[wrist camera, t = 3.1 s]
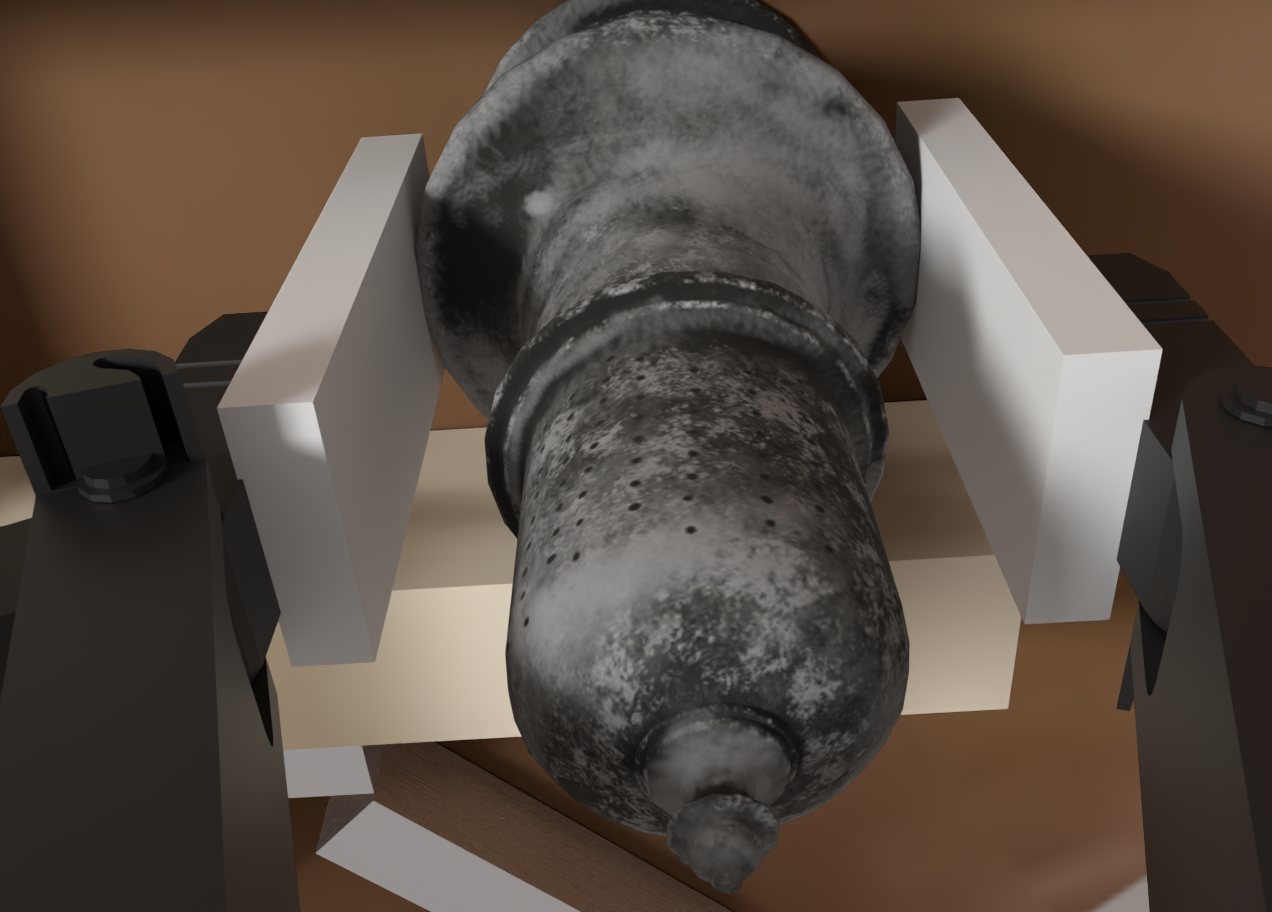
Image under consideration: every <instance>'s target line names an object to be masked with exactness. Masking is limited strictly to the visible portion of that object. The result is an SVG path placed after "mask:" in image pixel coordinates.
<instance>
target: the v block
mask: <svg viewBox="0 0 1272 912" xmlns="http://www.w3.org/2000/svg"><path fill="white" fill-rule="evenodd" d="M283 753H284V762H285V772H286V781H287V791H288V798H300V797H318V796H330V797H329V801H328V805H327V809H326V813H325V817H324V821H323V825H322V829H321V833H320V837H319V841H318V845H317V849H316V854H318V855H320V856H322V857H324V858H326V859H328V860H330V861H332V862H334V863H336V864H338V865H340V866H342V867H344V868H345V869H347V870H349V871H351V872H353V873H355V874H357V875H359V876H361V877H363V878H365V879H367V880H369V881H371V882H373V883H375V884H377V885H379V886H381V887H383V888H385V889H387V890H389V891H391V892H393V893H395V894H397V895H399V896H401V897H403V898H405V899H407V900H409V901H411V902H413V903H415V904H417V905H419V906H421V907H423V908H425V909H427V910H429V911H431V912H732V911H730V910H728V909H727V908H725V907H723V906H721V905H720V904H718V903H716V902H714V901H713V900H711V899H709V898H707V897H706V896H704V895H702V894H700V893H699V892H697V891H695V890H693V889H692V888H690V887H688V886H686V885H684V884H683V883H681V882H679V881H677V880H676V879H674V878H672V877H670V876H669V875H667V874H665V873H663V872H662V871H660V870H658V869H656V868H655V867H653V866H651V865H649V864H648V863H646V862H644V861H642V860H641V859H639V858H637V857H635V856H634V855H632V854H630V853H628V852H627V851H625V850H623V849H621V848H620V847H618V846H616V845H614V844H613V843H611V842H609V841H607V840H606V839H604V838H602V837H600V836H599V835H597V834H595V833H593V832H592V831H590V830H588V829H586V828H584V827H583V826H581V825H579V824H577V823H576V822H574V821H572V820H570V819H569V818H567V817H565V816H563V815H562V814H560V813H558V812H556V811H555V810H553V809H551V808H549V807H548V806H546V805H544V804H542V803H541V802H539V801H537V800H535V799H534V798H532V797H530V796H528V795H527V794H525V793H523V792H521V791H520V790H518V789H516V788H514V787H513V786H511V785H509V784H507V783H506V782H504V781H502V780H500V779H499V778H497V777H495V776H493V775H492V774H490V773H488V772H486V771H485V770H483V769H481V768H479V767H477V766H476V765H474V764H472V763H470V762H469V761H467V760H465V759H463V758H462V757H460V756H458V755H456V754H455V753H453V752H451V751H449V750H448V749H446V748H444V747H442V746H441V745H439V744H437V743H435V742H434V741H433V742H416V743H398V744H381V745H363V746H345V747H328V748H310V749H293V750H283Z"/></svg>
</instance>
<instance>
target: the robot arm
mask: <svg viewBox="0 0 1272 912" xmlns="http://www.w3.org/2000/svg"><path fill="white" fill-rule="evenodd" d="M895 144H896V146H897V148H898V150H899V152H900V154H901V156H902V158H903V160H904V162H905V164H906V166H907V169H908V171H909V173H910V175H911V177H912V179H913V181H914V187H915V194H916V200H917V206H918V213H919V219H920V225H921V250H920V262H919V273H918V285H917V295H916V303H915V306H914V308H913V311H912V313H911V315H910V318H909V320H908V322H907V325H906V327H905V330H904V332H903V334H902V337H901V340H902V342H903V344H904V347H905V349H906V351H907V354H908V356H909V358H910V361H911V363H912V365H913V368H914V370H915V372H916V374H917V377H918V379H919V381H920V384H921V386H922V388H923V391H924V393H925V395H926V398H927V400H928V402H929V405H930V407H931V409H932V412H933V414H934V416H935V418H936V421H937V423H938V425H939V428H940V430H941V432H942V435H943V437H944V439H945V442H946V444H947V446H948V449H949V451H950V453H951V456H952V458H953V460H954V462H955V465H956V467H957V469H958V472H959V474H960V476H961V479H962V481H963V483H964V486H965V488H966V490H967V493H968V495H969V497H970V499H971V502H972V504H973V506H974V509H975V511H976V513H977V516H978V518H979V520H980V523H981V525H982V527H983V530H984V532H985V534H986V537H987V539H988V541H989V543H990V546H991V548H992V550H993V553H994V555H995V557H996V560H997V562H998V564H999V567H1000V569H1001V571H1002V574H1003V576H1004V578H1005V581H1006V583H1007V585H1008V587H1009V590H1010V592H1011V594H1012V597H1013V599H1014V601H1015V604H1016V606H1017V608H1018V611H1019V613H1020V615H1021V618H1022V620H1023V622H1024V624H1041V623H1059V622H1076V621H1093V620H1110V615H1111V610H1112V605H1113V600H1114V595H1115V590H1116V585H1117V580H1118V575H1119V569H1120V567H1121V569H1122V571H1123V572H1124V574H1125V576H1126V578H1127V580H1128V581H1129V583H1130V585H1131V587H1132V588H1133V590H1134V592H1135V594H1136V595H1137V597H1138V599H1139V605H1138V609H1137V614H1136V619H1135V624H1134V628H1133V633H1132V638H1131V643H1130V647H1129V652H1128V657H1127V661H1126V666H1125V671H1124V676H1123V680H1122V685H1121V690H1120V695H1119V699H1118V704H1117V709H1120V710H1127V711H1130V709H1131V706H1132V703H1133V699H1134V704H1135V718H1136V732H1137V745H1138V759H1139V773H1140V786H1141V800H1142V813H1143V827H1144V841H1145V854H1146V868H1147V882H1148V895H1149V908H1150V912H1272V368H1269V367H1262V366H1255V365H1254V364H1253V363H1252V362H1251V361H1250V360H1249V359H1248V358H1247V357H1246V356H1245V355H1244V354H1243V352H1242V351H1241V350H1240V349H1239V348H1238V347H1237V346H1236V345H1235V344H1234V343H1233V342H1232V341H1231V339H1230V338H1229V337H1228V336H1227V335H1226V334H1225V333H1224V332H1223V331H1222V330H1221V329H1220V328H1219V326H1218V325H1217V324H1216V323H1215V322H1214V321H1213V320H1211V321H1208V315H1207V313H1206V312H1205V311H1204V310H1203V309H1202V308H1201V307H1200V306H1199V305H1198V304H1197V303H1196V302H1195V301H1190V295H1189V294H1188V293H1187V292H1186V291H1185V290H1184V289H1183V288H1182V286H1181V285H1180V284H1179V283H1178V282H1177V281H1176V280H1175V279H1174V278H1173V277H1172V276H1171V275H1170V273H1169V272H1167V271H1165V270H1163V269H1161V268H1159V267H1157V266H1155V265H1153V264H1151V263H1149V262H1147V261H1145V260H1143V259H1141V258H1139V257H1136V256H1134V255H1132V254H1130V253H1121V254H1106V255H1090V256H1087V255H1086V254H1085V253H1084V252H1083V250H1082V249H1081V248H1080V247H1079V245H1078V244H1077V243H1076V242H1075V240H1074V239H1073V238H1072V237H1071V236H1070V234H1069V233H1068V232H1067V231H1066V229H1065V228H1064V227H1063V226H1062V224H1061V223H1060V222H1059V221H1058V219H1057V218H1056V217H1055V216H1054V215H1053V213H1052V212H1051V211H1050V210H1049V208H1048V207H1047V206H1046V205H1045V203H1044V202H1043V201H1042V200H1041V199H1040V197H1039V196H1038V195H1037V194H1036V192H1035V191H1034V190H1033V189H1032V187H1031V186H1030V185H1029V184H1028V182H1027V181H1026V180H1025V179H1024V178H1023V176H1022V175H1021V174H1020V173H1019V171H1018V170H1017V169H1016V168H1015V166H1014V165H1013V164H1012V163H1011V162H1010V160H1009V159H1008V158H1007V157H1006V155H1005V154H1004V153H1003V152H1002V150H1001V149H1000V148H999V147H998V145H997V144H996V143H995V142H994V141H993V139H992V138H991V137H990V136H989V134H988V133H987V132H986V131H985V129H984V128H983V127H982V126H981V125H980V123H979V122H978V121H977V120H976V118H975V117H974V116H973V115H972V113H971V112H970V111H969V110H968V108H967V107H966V106H965V105H964V104H963V102H962V101H961V100H960V99H959V98H949V99H934V100H919V101H904V102H897V109H896V127H895ZM428 180H429V172H428V166H427V160H426V153H425V147H424V141H423V135H422V134H407V135H392V136H377V137H362V138H361V139H360V141H359V143H358V145H357V147H356V149H355V150H354V152H353V154H352V156H351V158H350V160H349V162H348V164H347V165H346V167H345V169H344V171H343V173H342V175H341V177H340V179H339V180H338V182H337V184H336V186H335V188H334V190H333V192H332V194H331V195H330V197H329V199H328V201H327V203H326V205H325V207H324V208H323V210H322V212H321V214H320V216H319V218H318V220H317V222H316V223H315V225H314V227H313V229H312V231H311V233H310V235H309V237H308V238H307V240H306V242H305V244H304V246H303V248H302V250H301V252H300V253H299V255H298V257H297V259H296V261H295V263H294V265H293V267H292V268H291V270H290V272H289V274H288V276H287V278H286V280H285V281H284V283H283V285H282V287H281V289H280V291H279V293H278V295H277V296H276V298H275V300H274V302H273V304H272V306H271V308H270V310H269V311H268V312H254V313H238V314H223V315H222V316H221V317H219V318H218V319H216V320H215V321H214V322H212V323H211V324H209V325H208V326H207V327H205V328H204V329H202V330H201V331H199V332H198V333H197V334H195V335H194V336H192V337H191V338H190V339H189V341H188V342H187V344H186V345H185V347H184V348H183V350H182V352H181V353H180V355H179V356H178V358H177V360H176V361H175V362H174V360H173V359H171V358H169V357H167V356H164V355H162V354H160V353H158V352H155V351H147V350H135V349H121V350H112V351H103V352H95V353H91V354H87V355H83V356H80V357H76V358H72V359H69V360H65V361H62V362H59V363H57V364H55V365H53V366H50V367H48V368H46V369H44V370H41V371H39V372H37V373H35V374H32V375H31V376H30V377H28V378H27V379H26V380H24V381H23V382H21V383H20V384H19V385H17V386H16V387H15V388H13V389H12V390H11V391H10V392H9V394H8V395H7V397H6V398H5V400H4V401H3V403H2V405H1V406H0V408H1V411H2V413H3V416H4V418H5V421H6V423H7V426H8V428H9V431H10V433H11V436H12V438H13V441H14V443H15V446H16V448H17V451H18V453H19V456H20V458H21V460H22V463H23V465H24V468H25V470H26V473H27V475H28V478H29V480H30V483H31V485H32V488H33V490H34V493H35V495H36V497H35V503H34V509H33V514H32V518H29V519H26V520H22V521H19V522H16V523H12V524H9V525H5V526H1V527H0V912H300V904H299V895H298V885H297V876H296V866H295V857H294V847H293V838H292V829H291V819H290V810H289V800H288V791H287V781H286V772H285V762H284V753H283V743H282V734H281V724H280V715H279V706H278V696H277V692H276V689H275V685H274V682H273V679H272V675H271V672H270V669H269V665H268V662H267V659H266V655H267V652H268V649H269V646H270V643H271V640H272V638H273V635H274V632H275V629H276V626H277V623H278V621H279V624H280V628H281V631H282V635H283V638H284V642H285V645H286V649H287V652H288V656H289V659H290V662H291V666H292V667H302V666H319V665H336V664H354V663H371V662H375V661H376V656H377V652H378V648H379V644H380V639H381V635H382V631H383V627H384V623H385V618H386V614H387V610H388V606H389V602H390V597H391V593H392V589H393V585H394V581H395V576H396V572H397V568H398V564H399V560H400V555H401V551H402V547H403V543H404V539H405V534H406V530H407V526H408V522H409V517H410V513H411V509H412V505H413V501H414V496H415V492H416V488H417V484H418V480H419V475H420V471H421V467H422V463H423V459H424V454H425V450H426V446H427V442H428V438H429V433H430V429H431V425H432V421H433V417H434V412H435V408H436V404H437V400H438V396H439V391H440V387H441V383H442V379H443V374H444V370H445V366H444V364H443V362H442V359H441V357H440V354H439V352H438V350H437V347H436V345H435V342H434V340H433V338H432V335H431V333H430V330H429V328H428V325H427V322H426V317H425V313H424V307H423V301H422V295H421V289H420V282H419V276H418V270H417V263H416V257H415V245H416V239H417V233H418V227H419V221H420V216H421V210H422V204H423V198H424V192H425V187H426V184H427V182H428Z"/></svg>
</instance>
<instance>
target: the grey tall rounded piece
mask: <svg viewBox="0 0 1272 912" xmlns="http://www.w3.org/2000/svg"><path fill="white" fill-rule="evenodd" d="M920 250H921V225H920V219H919V213H918V206H917V200H916V194H915V187H914V181H913V179H912V177H911V175H910V173H909V171H908V169H907V166H906V164H905V162H904V160H903V158H902V156H901V154H900V152H899V150H898V148H897V146H896V144H895V142H894V139H893V137H892V135H891V133H890V131H889V129H888V127H887V125H886V123H885V121H884V120H883V118H882V117H881V116H880V115H879V114H878V113H877V112H876V111H875V110H874V109H873V108H872V106H871V105H870V104H869V103H868V102H867V101H866V100H865V99H864V98H863V97H862V96H861V94H860V93H859V92H858V91H857V90H856V89H855V88H854V87H853V86H852V85H851V83H850V82H849V81H848V80H847V79H846V78H845V77H844V76H843V75H842V74H841V73H840V71H839V70H837V69H836V68H834V67H832V66H831V65H829V64H827V63H826V62H824V61H822V60H821V59H819V58H818V56H817V54H816V53H815V51H814V50H813V49H812V48H811V47H810V46H809V45H808V44H807V43H806V42H805V41H804V40H803V38H802V37H801V36H800V35H799V34H798V33H797V32H796V31H795V30H794V29H793V28H792V26H791V25H790V24H789V23H788V22H787V21H786V20H785V19H784V18H783V17H782V16H781V15H780V14H778V13H776V12H775V11H773V10H771V9H770V8H768V7H766V6H765V5H763V4H761V3H760V2H758V1H756V0H566V1H565V2H563V3H561V4H560V5H558V6H557V7H555V8H553V9H552V10H550V11H549V12H547V13H546V14H544V15H542V16H541V17H539V18H538V19H536V20H535V22H534V23H533V24H532V25H531V26H530V27H529V28H528V29H527V30H526V31H525V33H524V34H523V35H522V36H521V37H520V38H519V39H518V40H517V41H516V43H515V44H514V45H513V46H512V47H511V48H510V49H509V50H508V51H507V52H506V54H505V55H504V56H503V57H502V59H501V61H500V63H499V65H498V67H497V69H496V71H495V73H494V75H493V77H492V79H491V81H490V83H489V85H488V87H487V89H486V91H485V93H484V95H483V96H482V97H481V98H480V99H479V100H478V101H477V102H476V103H475V105H474V106H473V107H472V108H471V109H470V110H469V111H468V112H467V113H466V114H465V116H464V117H463V118H462V119H461V120H460V121H459V122H458V123H457V124H456V125H455V128H454V130H453V132H452V134H451V136H450V138H449V140H448V142H447V144H446V146H445V148H444V150H443V152H442V154H441V156H440V158H439V160H438V162H437V164H436V166H435V168H434V170H433V172H432V174H431V176H430V178H429V180H428V182H427V184H426V187H425V192H424V198H423V204H422V210H421V216H420V221H419V227H418V233H417V239H416V245H415V257H416V263H417V270H418V276H419V282H420V289H421V295H422V301H423V307H424V313H425V317H426V322H427V325H428V328H429V330H430V333H431V335H432V338H433V340H434V342H435V345H436V347H437V350H438V352H439V354H440V357H441V359H442V362H443V364H444V366H445V368H446V369H447V370H448V372H449V373H450V374H451V375H452V377H453V378H454V379H455V381H456V382H457V383H458V384H459V386H460V387H461V388H462V390H463V391H464V392H465V394H466V395H467V396H468V397H469V399H470V400H471V401H472V403H473V404H474V405H475V407H476V408H477V409H478V410H479V412H480V413H481V414H483V415H484V416H485V417H486V418H488V419H489V421H488V425H487V429H486V433H485V439H484V440H485V453H486V466H487V478H488V485H489V487H490V490H491V492H492V494H493V497H494V499H495V502H496V504H497V507H498V509H499V511H500V514H501V516H502V519H503V521H504V523H505V525H506V526H507V527H508V528H509V530H510V531H511V532H512V533H513V534H514V536H515V537H516V538H517V547H516V557H515V566H514V575H513V585H512V594H511V603H510V613H509V622H508V631H507V640H506V650H505V658H506V671H507V684H508V694H509V698H510V703H511V708H512V713H513V717H514V721H515V723H516V725H517V728H518V730H519V732H520V734H521V736H522V738H523V741H524V743H525V745H526V747H527V749H528V752H529V754H530V755H531V756H532V757H533V758H534V759H535V760H536V761H537V763H538V764H539V765H540V766H541V767H542V768H543V769H544V770H545V771H546V772H547V773H548V775H549V776H550V777H551V778H552V779H553V780H554V781H555V782H556V783H557V784H558V785H559V786H560V787H561V788H562V789H563V790H565V791H566V792H567V793H568V794H569V795H570V796H571V797H572V798H573V799H574V800H576V801H578V802H579V803H581V804H582V805H584V806H585V807H587V808H589V809H590V810H592V811H593V812H595V813H597V814H598V815H600V816H601V817H603V818H604V819H606V820H609V821H612V822H615V823H618V824H620V825H623V826H626V827H629V828H632V829H634V830H637V831H640V832H643V833H650V834H656V835H663V836H667V847H668V848H669V849H670V850H671V851H672V852H673V854H674V855H675V856H676V857H677V858H678V859H679V860H680V862H681V863H683V864H686V865H689V866H690V868H691V869H692V870H693V872H694V873H695V874H696V875H697V876H698V877H699V878H700V879H702V880H704V881H706V882H709V883H711V884H712V887H713V888H714V889H715V890H716V891H717V892H719V893H722V894H731V893H734V892H735V891H737V890H738V889H739V888H740V887H741V886H742V882H743V881H744V880H745V879H747V878H748V877H749V876H750V875H751V874H753V873H754V872H755V871H756V870H757V869H758V868H759V863H760V861H761V860H762V859H763V858H764V857H765V856H766V855H767V854H768V853H769V852H770V851H771V850H772V849H773V848H774V847H775V846H776V845H777V840H778V832H779V825H781V824H784V823H786V822H789V821H791V820H794V819H797V818H799V817H802V816H804V815H807V814H809V813H810V812H812V811H814V810H815V809H817V808H818V807H820V806H821V805H823V804H824V803H826V802H828V801H829V800H831V799H832V798H834V797H835V796H837V795H838V794H840V793H842V792H843V791H844V790H845V789H846V788H847V787H848V786H849V785H850V783H851V782H852V781H853V780H854V779H855V778H856V777H857V776H858V775H859V774H860V773H861V772H862V771H863V770H864V769H865V768H866V767H867V766H868V765H869V763H870V762H871V761H872V760H873V758H874V757H875V756H876V754H877V753H878V752H879V751H880V749H881V748H882V747H883V745H884V744H885V742H886V740H887V738H888V736H889V735H890V733H891V731H892V729H893V727H894V725H895V723H896V722H897V720H898V718H899V716H900V714H901V712H902V710H903V706H904V700H905V694H906V688H907V682H908V676H909V648H910V642H909V637H908V632H907V627H906V622H905V617H904V612H903V607H902V603H901V600H900V596H899V593H898V590H897V587H896V584H895V580H894V577H893V574H892V571H891V568H890V564H889V561H888V558H887V555H886V552H885V548H884V545H883V542H882V539H881V535H880V532H879V529H878V526H877V523H876V519H875V516H874V513H873V510H872V507H871V501H872V498H873V496H874V494H875V492H876V490H877V488H878V485H879V483H880V481H881V479H882V477H883V474H884V467H885V459H886V452H887V444H888V437H889V426H888V421H887V416H886V410H885V405H884V400H883V394H882V389H881V385H880V383H879V381H878V379H877V378H878V377H879V376H880V374H881V373H882V372H883V370H884V369H885V368H886V366H887V365H888V364H889V362H890V361H891V360H892V358H893V356H894V353H895V351H896V349H897V346H898V344H899V341H900V339H901V337H902V334H903V332H904V330H905V327H906V325H907V322H908V320H909V318H910V315H911V313H912V311H913V308H914V306H915V303H916V295H917V285H918V273H919V262H920Z"/></svg>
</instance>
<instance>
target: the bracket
mask: <svg viewBox="0 0 1272 912" xmlns="http://www.w3.org/2000/svg"><path fill="white" fill-rule="evenodd" d="M884 405H885V410H886V416H887V421H888V426H889V437H888V444H887V452H886V459H885V467H884V474H883V477H882V479H881V481H880V483H879V485H878V488H877V490H876V492H875V494H874V496H873V498H872V501H871V507H872V510H873V513H874V516H875V519H876V523H877V526H878V529H879V532H880V535H881V539H882V542H883V545H884V548H885V552H886V555H887V558H888V561H889V564H890V568H891V571H892V574H893V577H894V580H895V584H896V587H897V590H898V593H899V596H900V600H901V603H902V607H903V612H904V617H905V622H906V627H907V632H908V637H909V642H910V648H909V676H908V682H907V688H906V694H905V700H904V706H903V710H902V712H901V714H900V715H908V714H925V713H943V712H961V711H978V710H996V709H1008V705H1009V698H1010V691H1011V684H1012V677H1013V670H1014V663H1015V656H1016V649H1017V642H1018V635H1019V628H1020V622H1021V615H1020V613H1019V611H1018V608H1017V606H1016V604H1015V601H1014V599H1013V597H1012V594H1011V592H1010V590H1009V587H1008V585H1007V583H1006V581H1005V578H1004V576H1003V574H1002V571H1001V569H1000V567H999V564H998V562H997V560H996V557H995V555H994V553H993V550H992V548H991V546H990V543H989V541H988V539H987V537H986V534H985V532H984V530H983V527H982V525H981V523H980V520H979V518H978V516H977V513H976V511H975V509H974V506H973V504H972V502H971V499H970V497H969V495H968V493H967V490H966V488H965V486H964V483H963V481H962V479H961V476H960V474H959V472H958V469H957V467H956V465H955V462H954V460H953V458H952V456H951V453H950V451H949V449H948V446H947V444H946V442H945V439H944V437H943V435H942V432H941V430H940V428H939V425H938V423H937V421H936V418H935V416H934V414H933V412H932V409H931V407H930V405H929V402H928V400H921V401H904V402H888V403H884ZM486 429H487V427H484V428H468V429H451V430H435V431H430V433H429V438H428V442H427V446H426V450H425V454H424V459H423V463H422V467H421V471H420V475H419V480H418V484H417V488H416V492H415V496H414V501H413V505H412V509H411V513H410V517H409V522H408V526H407V530H406V534H405V539H404V543H403V547H402V551H401V555H400V560H399V564H398V568H397V572H396V576H395V581H394V585H393V589H392V593H391V597H390V602H389V606H388V610H387V614H386V618H385V623H384V627H383V631H382V635H381V639H380V644H379V648H378V652H377V656H376V661H375V662H371V663H354V664H336V665H319V666H302V667H292V666H291V662H290V659H289V656H288V652H287V649H286V645H285V642H284V638H283V635H282V631H281V628H280V624H279V621H278V623H277V626H276V629H275V632H274V635H273V638H272V640H271V643H270V646H269V649H268V652H267V655H266V659H267V662H268V665H269V669H270V672H271V675H272V679H273V682H274V685H275V689H276V692H277V696H278V706H279V715H280V724H281V734H282V743H283V750H293V749H310V748H328V747H345V746H363V745H381V744H398V743H416V742H433V741H451V740H468V739H486V738H504V737H521V734H520V732H519V730H518V728H517V725H516V723H515V721H514V717H513V713H512V708H511V703H510V698H509V694H508V684H507V671H506V658H505V650H506V640H507V631H508V622H509V613H510V603H511V594H512V585H513V575H514V566H515V557H516V547H517V538H516V537H515V536H514V534H513V533H512V532H511V531H510V530H509V528H508V527H507V526H506V525H505V523H504V521H503V519H502V516H501V514H500V511H499V509H498V507H497V504H496V502H495V499H494V497H493V494H492V492H491V490H490V487H489V485H488V478H487V466H486V453H485V440H484V439H485V433H486ZM35 497H36V495H35V493H34V490H33V488H32V485H31V483H30V480H29V478H28V475H27V473H26V470H25V468H24V465H23V463H22V460H21V458H20V456H15V457H0V527H1V526H5V525H9V524H12V523H16V522H19V521H22V520H26V519H29V518H32V514H33V509H34V503H35Z"/></svg>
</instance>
